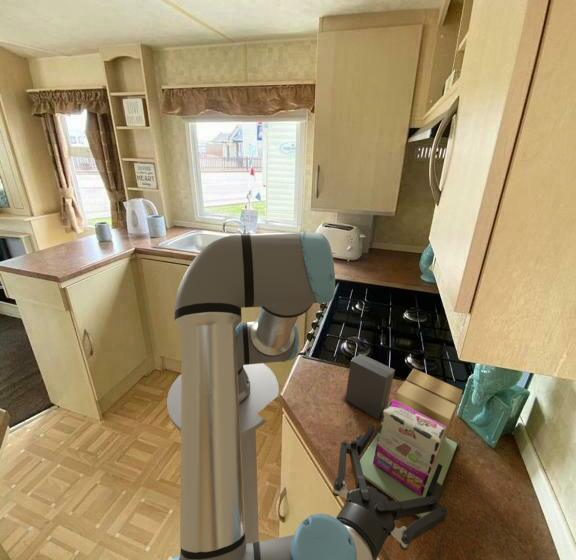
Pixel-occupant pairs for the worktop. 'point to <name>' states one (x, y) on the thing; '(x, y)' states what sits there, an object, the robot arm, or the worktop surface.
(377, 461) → the candy bar box
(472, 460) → the worktop surface
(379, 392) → the grey box
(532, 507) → the worktop surface
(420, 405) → the cardboard box
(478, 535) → the worktop surface
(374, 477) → the sage board
